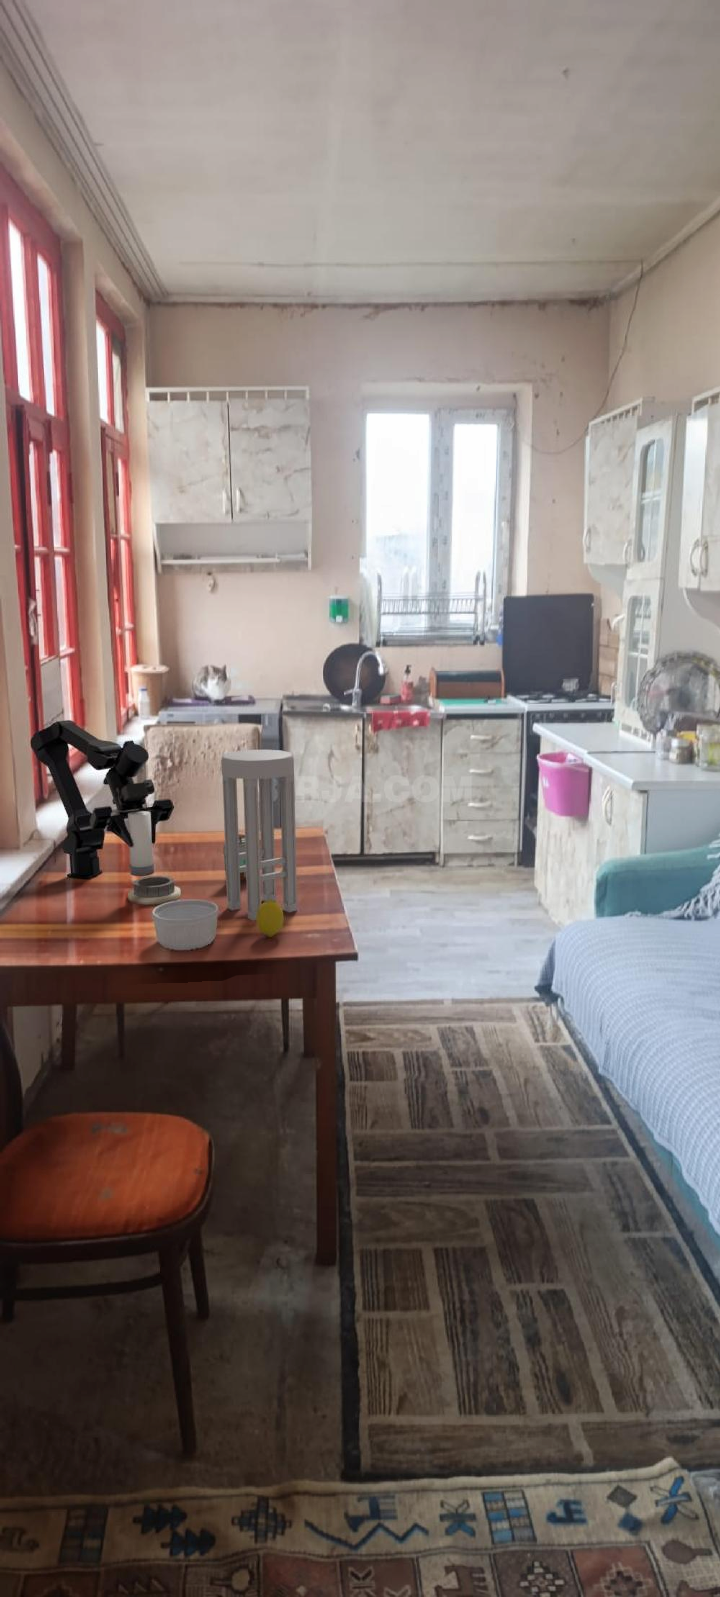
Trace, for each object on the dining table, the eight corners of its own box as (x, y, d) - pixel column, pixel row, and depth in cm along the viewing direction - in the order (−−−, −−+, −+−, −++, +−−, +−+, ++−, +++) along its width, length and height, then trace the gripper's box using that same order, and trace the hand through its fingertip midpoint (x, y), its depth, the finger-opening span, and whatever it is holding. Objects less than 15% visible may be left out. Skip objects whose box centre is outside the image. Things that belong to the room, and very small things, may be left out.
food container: (248, 887, 239) (247, 846, 237) (224, 885, 240) (222, 845, 238) (263, 873, 250) (262, 834, 248) (240, 872, 252) (239, 833, 250)
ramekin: (182, 958, 192) (180, 923, 191) (140, 943, 201) (138, 910, 199) (232, 940, 202) (231, 907, 201) (190, 926, 210) (189, 895, 209)
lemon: (257, 933, 206) (256, 896, 204) (283, 932, 206) (283, 895, 205) (256, 942, 200) (255, 904, 199) (284, 941, 201) (283, 903, 199)
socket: (117, 901, 228) (117, 885, 227) (147, 887, 239) (146, 872, 238) (162, 906, 224) (162, 891, 223) (190, 892, 235) (189, 877, 234)
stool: (214, 907, 223) (208, 753, 216) (273, 894, 232) (269, 747, 225) (249, 925, 211) (244, 762, 204) (310, 911, 220) (307, 755, 213)
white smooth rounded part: (125, 874, 227) (122, 815, 224) (139, 868, 231) (136, 810, 229) (145, 877, 225) (142, 817, 222) (158, 871, 229) (156, 812, 226)
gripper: (90, 773, 221) (110, 830, 215) (169, 764, 231) (190, 819, 225) (81, 801, 229) (100, 857, 223) (158, 792, 239) (178, 846, 233)
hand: (143, 844), depth 225 cm, fingers closed on white smooth rounded part, 5 cm apart
